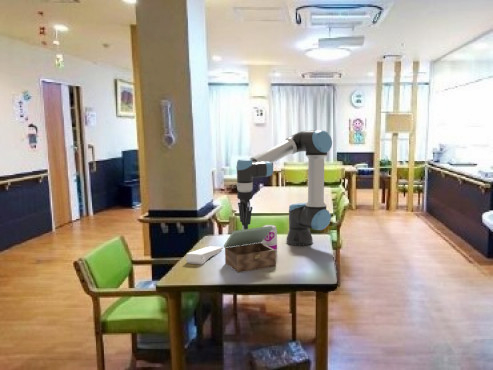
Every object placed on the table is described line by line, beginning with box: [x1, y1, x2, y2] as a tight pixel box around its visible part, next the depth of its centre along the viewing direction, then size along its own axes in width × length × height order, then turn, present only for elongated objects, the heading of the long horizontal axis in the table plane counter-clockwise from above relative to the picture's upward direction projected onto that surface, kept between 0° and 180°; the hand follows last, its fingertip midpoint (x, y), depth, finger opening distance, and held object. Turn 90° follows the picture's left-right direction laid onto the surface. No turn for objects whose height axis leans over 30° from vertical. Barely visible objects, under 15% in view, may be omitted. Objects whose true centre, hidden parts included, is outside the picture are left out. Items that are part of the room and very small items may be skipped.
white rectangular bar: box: [185, 245, 224, 265], centre depth 231 cm, size 10×7×28 cm
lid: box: [223, 226, 273, 249], centre depth 215 cm, size 21×16×1 cm
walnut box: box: [224, 242, 277, 274], centre depth 214 cm, size 20×17×8 cm
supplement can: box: [261, 224, 278, 254], centre depth 232 cm, size 8×8×15 cm
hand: (245, 237), depth 217 cm, fingers closed
